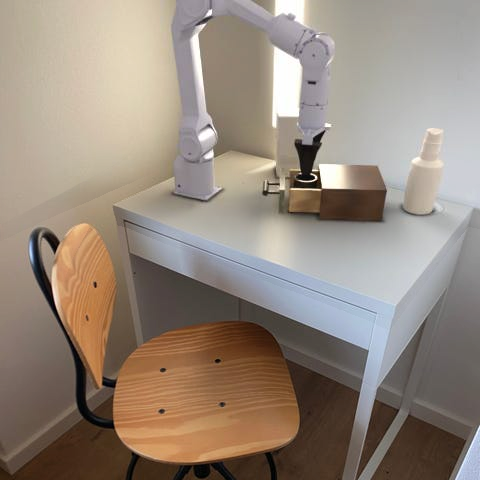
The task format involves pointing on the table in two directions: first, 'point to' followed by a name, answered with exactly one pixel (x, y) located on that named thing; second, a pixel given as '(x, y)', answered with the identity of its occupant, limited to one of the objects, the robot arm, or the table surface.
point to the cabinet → (351, 192)
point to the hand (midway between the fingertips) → (308, 166)
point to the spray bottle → (425, 175)
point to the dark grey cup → (305, 181)
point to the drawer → (296, 193)
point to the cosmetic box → (287, 140)
